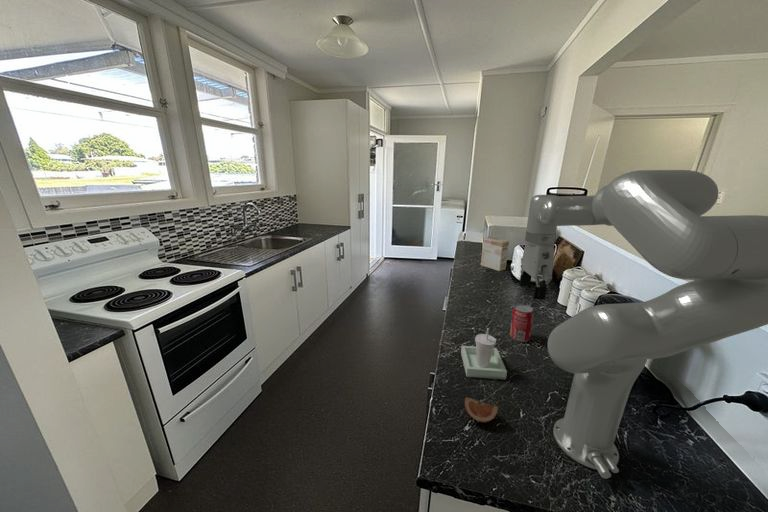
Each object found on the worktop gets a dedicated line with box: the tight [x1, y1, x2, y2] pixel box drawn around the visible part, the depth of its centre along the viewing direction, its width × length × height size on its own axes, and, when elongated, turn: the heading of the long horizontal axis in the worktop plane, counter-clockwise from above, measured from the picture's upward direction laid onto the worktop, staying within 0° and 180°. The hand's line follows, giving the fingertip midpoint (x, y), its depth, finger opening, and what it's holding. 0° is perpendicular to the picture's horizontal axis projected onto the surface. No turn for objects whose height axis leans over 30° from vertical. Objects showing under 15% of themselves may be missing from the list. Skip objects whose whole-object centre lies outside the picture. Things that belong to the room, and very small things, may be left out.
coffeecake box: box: [480, 236, 510, 272], centre depth 184 cm, size 15×7×20 cm, turn 32°
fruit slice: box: [463, 396, 499, 423], centre depth 72 cm, size 8×7×5 cm
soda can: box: [509, 303, 535, 343], centre depth 105 cm, size 7×7×13 cm
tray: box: [460, 345, 508, 380], centre depth 92 cm, size 12×12×3 cm
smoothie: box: [474, 327, 497, 368], centre depth 89 cm, size 6×6×14 cm
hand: (531, 292), depth 85 cm, fingers open, 9 cm apart
